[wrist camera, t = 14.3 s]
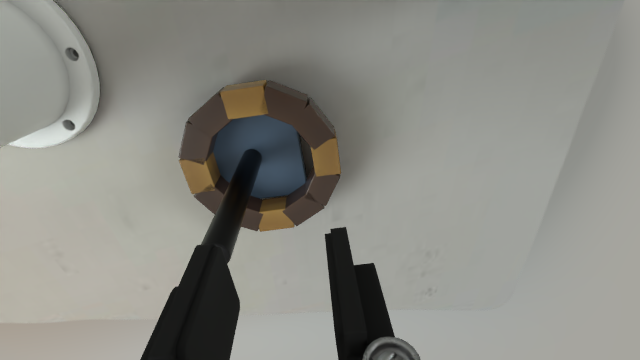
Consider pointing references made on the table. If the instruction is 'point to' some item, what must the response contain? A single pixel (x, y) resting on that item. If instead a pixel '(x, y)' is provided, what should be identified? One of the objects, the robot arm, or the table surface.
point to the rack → (253, 171)
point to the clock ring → (279, 106)
